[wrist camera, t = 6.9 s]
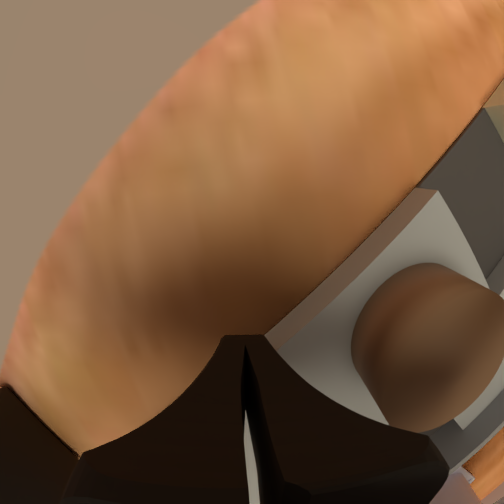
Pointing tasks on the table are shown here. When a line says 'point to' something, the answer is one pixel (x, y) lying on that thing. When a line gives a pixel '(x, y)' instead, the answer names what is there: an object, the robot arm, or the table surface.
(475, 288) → the puck
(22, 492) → the battery charger
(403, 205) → the trap board
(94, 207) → the table surface
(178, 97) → the table surface
